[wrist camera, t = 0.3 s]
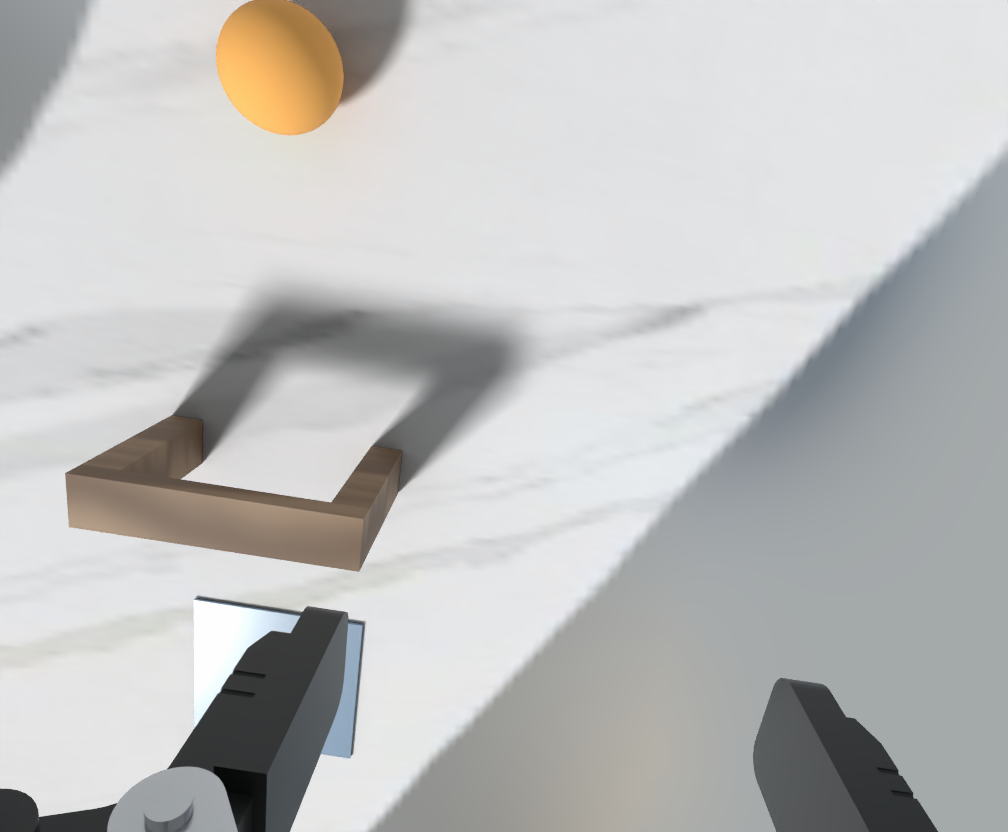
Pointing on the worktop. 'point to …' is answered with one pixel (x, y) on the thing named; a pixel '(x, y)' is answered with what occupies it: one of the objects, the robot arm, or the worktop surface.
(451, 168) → the worktop surface
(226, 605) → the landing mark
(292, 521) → the bridge
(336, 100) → the ball
